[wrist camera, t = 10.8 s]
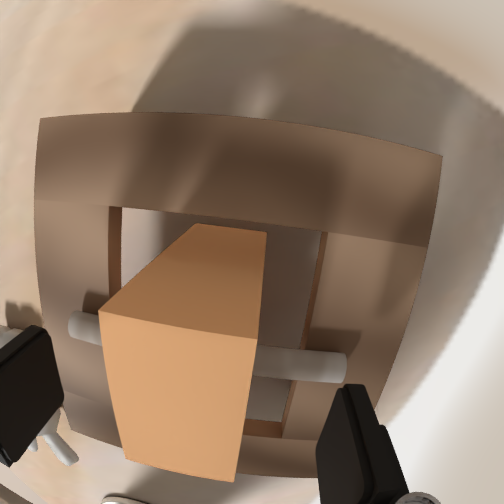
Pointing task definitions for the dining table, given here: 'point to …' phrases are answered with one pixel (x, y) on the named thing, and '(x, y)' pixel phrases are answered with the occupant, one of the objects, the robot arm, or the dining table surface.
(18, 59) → the dining table surface
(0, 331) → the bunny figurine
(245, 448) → the brown square frame
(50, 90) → the dining table surface
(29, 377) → the robot arm
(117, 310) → the orange boxy part
